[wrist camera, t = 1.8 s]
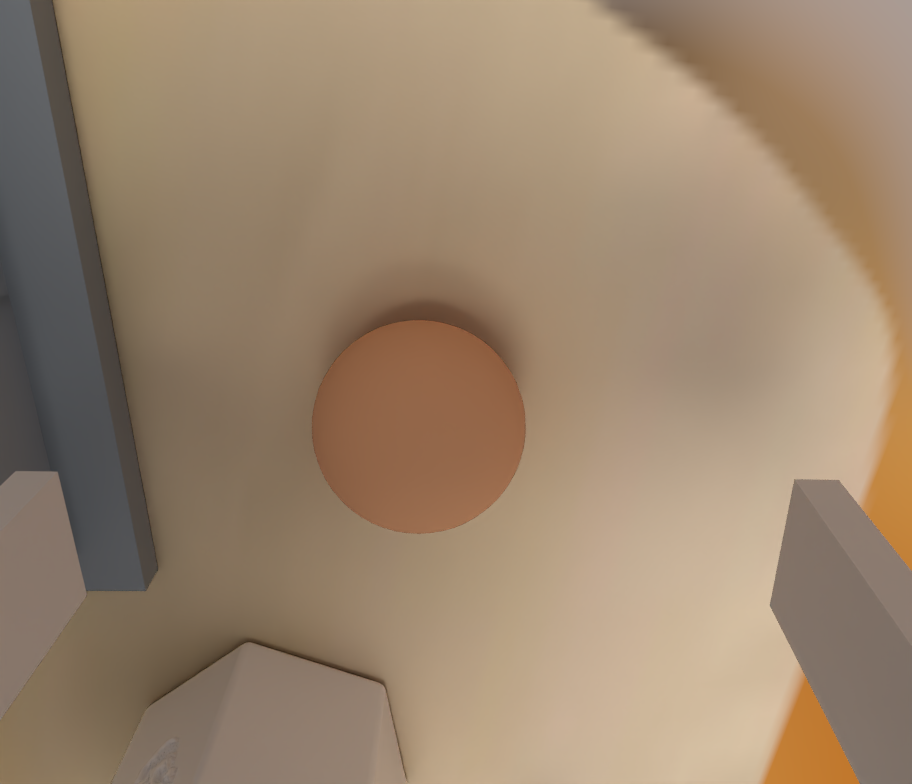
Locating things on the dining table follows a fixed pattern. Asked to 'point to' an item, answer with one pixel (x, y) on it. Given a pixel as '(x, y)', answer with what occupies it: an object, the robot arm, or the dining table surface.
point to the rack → (61, 316)
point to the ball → (418, 426)
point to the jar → (266, 727)
